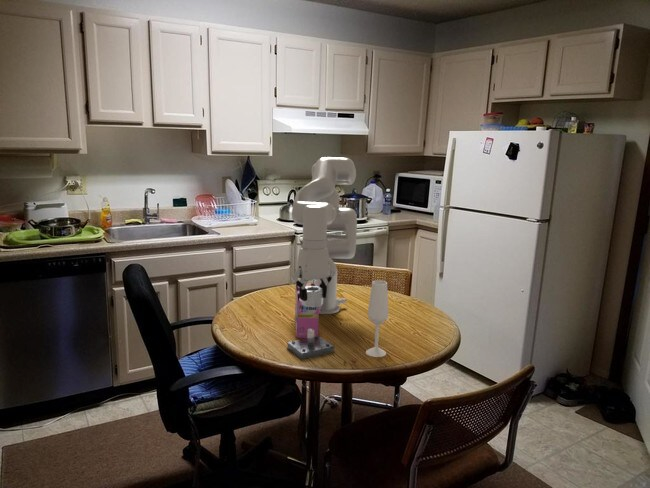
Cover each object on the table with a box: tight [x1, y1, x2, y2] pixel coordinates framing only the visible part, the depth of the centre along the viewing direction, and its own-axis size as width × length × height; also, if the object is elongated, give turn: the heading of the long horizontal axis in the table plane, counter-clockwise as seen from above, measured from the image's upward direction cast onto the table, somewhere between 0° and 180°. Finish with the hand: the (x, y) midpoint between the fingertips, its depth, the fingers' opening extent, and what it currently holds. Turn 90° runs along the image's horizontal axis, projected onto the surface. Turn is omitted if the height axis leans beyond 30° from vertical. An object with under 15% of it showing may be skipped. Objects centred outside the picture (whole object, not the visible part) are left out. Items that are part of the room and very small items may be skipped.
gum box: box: [294, 282, 320, 339], centre depth 178 cm, size 24×8×14 cm, turn 5°
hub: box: [301, 286, 324, 307], centre depth 155 cm, size 7×7×5 cm
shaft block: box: [286, 329, 335, 360], centre depth 157 cm, size 12×10×7 cm
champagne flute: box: [365, 280, 389, 358], centre depth 155 cm, size 7×7×24 cm
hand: (313, 297), depth 155 cm, fingers closed on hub, 6 cm apart
